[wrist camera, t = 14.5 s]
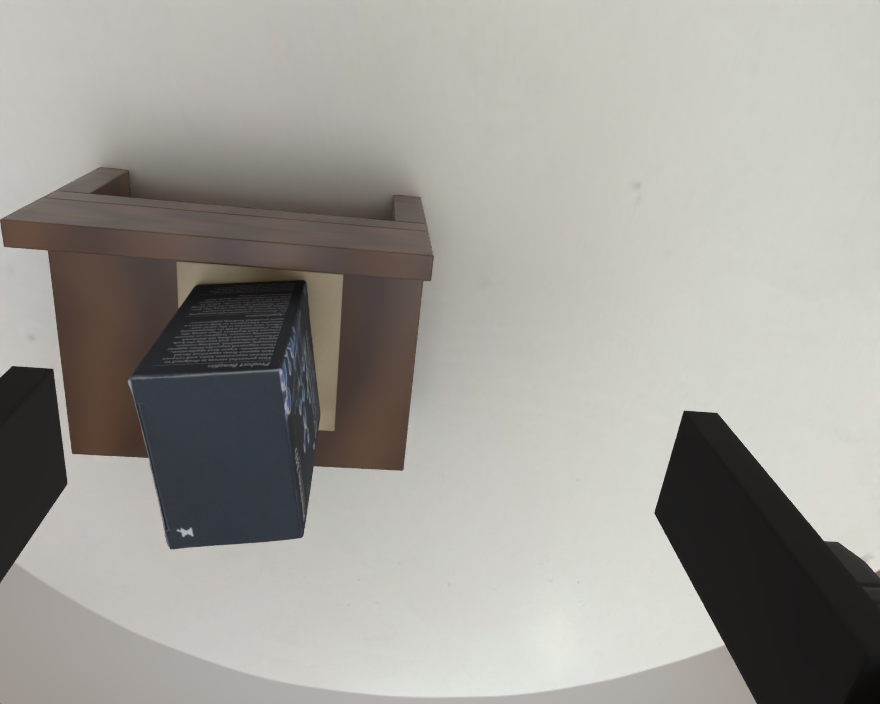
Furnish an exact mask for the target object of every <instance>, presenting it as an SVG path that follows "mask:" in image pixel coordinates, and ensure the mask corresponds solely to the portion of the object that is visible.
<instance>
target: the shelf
mask: <svg viewBox="0 0 880 704" xmlns="http://www.w3.org/2000/svg"><path fill="white" fill-rule="evenodd" d="M0 223H1V230H2V236H3V243H4V247H12V248H25V249H37V250H48V254H49V263H50V271H51V280H52V288H53V297H54V305H55V314H56V322H57V331H58V339H59V347H60V356H61V364H62V373H63V381H64V390H65V398H66V407H67V415H68V423H69V432H70V440H71V449H72V454H85V455H104V456H124V457H144V458H149V457H148V453H147V449H146V445H145V441H144V438H143V433H142V429H141V424H140V420H139V417H138V413H137V410H136V406H135V402H134V399H133V395H132V392H131V389H130V387H129V384H128V379H129V378H130V376H131V374H132V373H133V372H134V370H135V369H136V368H137V366H138V365H139V363H140V362H141V360H142V359H143V358H144V356H145V355H146V354H147V352H148V351H149V350H150V348H151V347H152V345H153V344H154V343H155V341H156V340H157V339H158V337H159V336H160V334H161V333H162V331H163V330H164V328H165V327H166V326H167V324H168V323H169V322H170V320H171V319H172V318H173V316H174V315H175V314H176V312H177V311H178V309H179V308H180V306H181V305H182V303H183V302H184V301H185V299H186V298H187V296H188V295H189V293H190V292H191V291H192V289H193V288H194V287H195V286H196V285H201V284H225V283H251V282H273V281H295V280H304V281H306V283H307V292H308V306H309V310H310V312H309V316H310V325H311V335H312V343H313V352H314V361H315V370H316V379H317V388H318V397H319V405H320V413H321V415H320V422H319V429H318V436H317V443H316V450H315V458H314V466H322V467H341V468H361V469H381V470H401V471H402V470H403V468H404V458H405V449H406V439H407V430H408V420H409V411H410V401H411V392H412V382H413V373H414V363H415V354H416V344H417V335H418V325H419V316H420V306H421V297H422V287H423V281H431V276H432V266H433V257H434V256H433V252H432V247H431V243H430V238H429V233H428V229H427V224H426V219H425V215H424V210H423V206H422V201H421V198H420V197H412V196H401V195H394V196H393V208H392V220H391V221H388V220H377V219H366V218H354V217H343V216H332V215H321V214H310V213H298V212H287V211H276V210H265V209H254V208H242V207H231V206H220V205H209V204H198V203H186V202H175V201H164V200H153V199H142V198H131V197H130V187H129V172H128V170H122V169H111V168H97V169H96V170H94V171H92V172H90V173H88V174H86V175H84V176H82V177H80V178H78V179H76V180H75V181H73V182H71V183H69V184H67V185H65V186H63V187H61V188H59V189H57V190H56V191H54V192H52V193H50V194H48V195H46V196H44V197H42V198H40V199H38V200H36V201H34V202H32V203H30V204H29V205H27V206H25V207H23V208H21V209H19V210H17V211H15V212H13V213H11V214H10V215H8V216H6V217H4V218H2V219H0Z"/></svg>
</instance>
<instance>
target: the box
mask: <svg viewBox="0 0 880 704" xmlns="http://www.w3.org/2000/svg"><path fill="white" fill-rule="evenodd" d="M309 312H310V310H309V306H308V292H307V283H306V281H304V280H295V281H273V282H251V283H225V284H201V285H196V286H195V287H194V288H193V289H192V291H191V292H190V293H189V295H188V296H187V298H186V299H185V301H184V302H183V303H182V305H181V306H180V308H179V309H178V311H177V312H176V314H175V315H174V316H173V318H172V319H171V320H170V322H169V323H168V324H167V326H166V327H165V328H164V330H163V331H162V333H161V334H160V336H159V337H158V339H157V340H156V341H155V343H154V344H153V345H152V347H151V348H150V350H149V351H148V352H147V354H146V355H145V356H144V358H143V359H142V360H141V362H140V363H139V365H138V366H137V368H136V369H135V370H134V372H133V373H132V374H131V376H130V378H129V379H128V384H129V387H130V389H131V392H132V395H133V399H134V402H135V406H136V410H137V413H138V417H139V420H140V424H141V429H142V433H143V438H144V441H145V445H146V449H147V453H148V457H149V461H150V466H151V470H152V475H153V480H154V484H155V488H156V492H157V496H158V501H159V506H160V511H161V516H162V520H163V525H164V530H165V537H166V541H167V544H168V546H169V547H170V549H179V548H188V547H201V546H214V545H228V544H243V543H257V542H269V541H280V540H289V539H297V538H302V537H303V534H304V528H305V522H306V515H307V508H308V501H309V494H310V487H311V480H312V473H313V467H314V458H315V450H316V443H317V436H318V429H319V422H320V415H321V413H320V405H319V397H318V388H317V379H316V370H315V361H314V352H313V343H312V335H311V325H310V316H309Z"/></svg>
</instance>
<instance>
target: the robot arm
mask: <svg viewBox="0 0 880 704" xmlns="http://www.w3.org/2000/svg"><path fill="white" fill-rule="evenodd" d="M66 485H67V476H66V468H65V460H64V452H63V444H62V436H61V428H60V420H59V412H58V403H57V395H56V387H55V379H54V371H53V369H47V368H32V367H17V366H12V367H11V368H10V369H9V370H8V371H7V372H6V373H5V374H4V375H3V376H2V377H0V582H1V581H2V579H3V578H4V576H5V575H6V573H7V572H8V570H9V569H10V568H11V566H12V565H13V563H14V562H15V560H16V559H17V557H18V556H19V554H20V553H21V551H22V550H23V548H24V547H25V546H26V544H27V543H28V541H29V540H30V538H31V537H32V535H33V534H34V532H35V531H36V529H37V528H38V526H39V525H40V523H41V522H42V521H43V519H44V518H45V516H46V515H47V513H48V512H49V510H50V509H51V507H52V506H53V504H54V503H55V501H56V500H57V498H58V497H59V496H60V494H61V493H62V491H63V490H64V488H65V487H66ZM655 515H656V517H657V519H658V521H659V523H660V525H661V526H662V528H663V530H664V532H665V534H666V536H667V538H668V539H669V541H670V543H671V545H672V547H673V549H674V551H675V552H676V554H677V556H678V558H679V560H680V562H681V564H682V565H683V567H684V569H685V571H686V573H687V575H688V577H689V578H690V580H691V582H692V584H693V586H694V588H695V590H696V591H697V593H698V595H699V597H700V599H701V601H702V603H703V604H704V606H705V608H706V610H707V612H708V614H709V616H710V617H711V619H712V621H713V623H714V625H715V627H716V629H717V630H718V632H719V634H720V636H721V638H722V640H723V642H724V643H725V645H726V647H727V649H728V651H729V653H730V654H731V656H732V658H733V660H734V662H735V663H736V666H737V667H738V669H739V671H740V673H741V675H742V677H743V679H744V681H745V682H746V684H747V686H748V688H749V690H750V692H751V693H752V695H753V697H754V699H755V701H756V703H757V704H880V578H879V577H878V576H877V575H876V574H875V573H874V571H873V570H872V569H871V568H870V567H869V566H868V565H867V563H866V562H865V561H863V560H862V559H861V558H859V557H858V556H856V555H855V554H854V553H852V552H851V551H849V550H848V549H847V548H845V547H844V546H843V545H841V544H840V543H838V542H827V541H823V540H822V538H821V537H820V536H819V535H818V533H817V532H816V531H815V530H814V529H813V527H812V526H811V525H810V524H809V523H808V521H807V520H806V519H805V518H804V517H803V515H802V514H801V513H800V512H799V511H798V509H797V508H796V507H795V506H794V505H793V503H792V502H791V501H790V500H789V499H788V497H787V496H786V495H785V494H784V493H783V491H782V490H781V489H780V488H779V487H778V485H777V484H776V483H775V482H774V481H773V479H772V478H771V477H770V476H769V475H768V473H767V472H766V471H765V470H764V469H763V467H762V466H761V465H760V464H759V463H758V461H757V460H756V459H755V458H754V457H753V455H752V454H751V453H750V452H749V451H748V449H747V448H746V447H745V446H744V445H743V443H742V442H741V441H740V440H739V439H738V437H737V436H736V435H735V434H734V433H733V431H732V430H731V429H730V428H729V427H728V425H727V424H726V423H725V422H724V421H723V419H722V418H721V417H720V416H719V415H718V413H710V412H695V411H684V412H683V416H682V419H681V423H680V426H679V430H678V433H677V437H676V440H675V443H674V447H673V450H672V454H671V457H670V461H669V464H668V468H667V471H666V475H665V478H664V482H663V485H662V488H661V492H660V495H659V499H658V502H657V506H656V509H655Z"/></svg>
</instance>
